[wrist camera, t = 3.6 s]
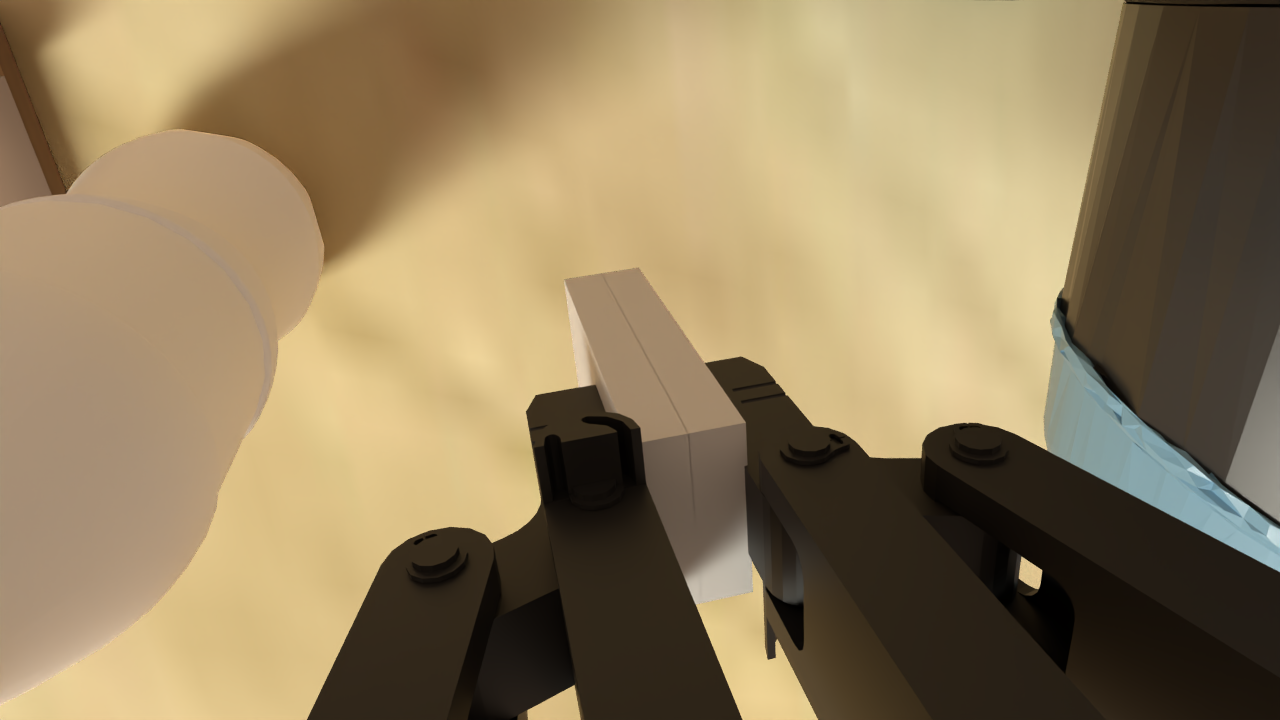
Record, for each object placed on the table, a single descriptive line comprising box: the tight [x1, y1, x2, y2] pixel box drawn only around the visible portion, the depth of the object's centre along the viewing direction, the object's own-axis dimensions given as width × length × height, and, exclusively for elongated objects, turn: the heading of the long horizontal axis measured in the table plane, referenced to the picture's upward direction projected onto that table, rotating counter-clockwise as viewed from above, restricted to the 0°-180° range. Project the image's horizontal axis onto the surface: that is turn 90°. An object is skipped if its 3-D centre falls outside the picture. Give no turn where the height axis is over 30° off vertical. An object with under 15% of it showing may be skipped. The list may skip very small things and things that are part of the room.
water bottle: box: [0, 129, 324, 705], centre depth 18 cm, size 7×7×25 cm
